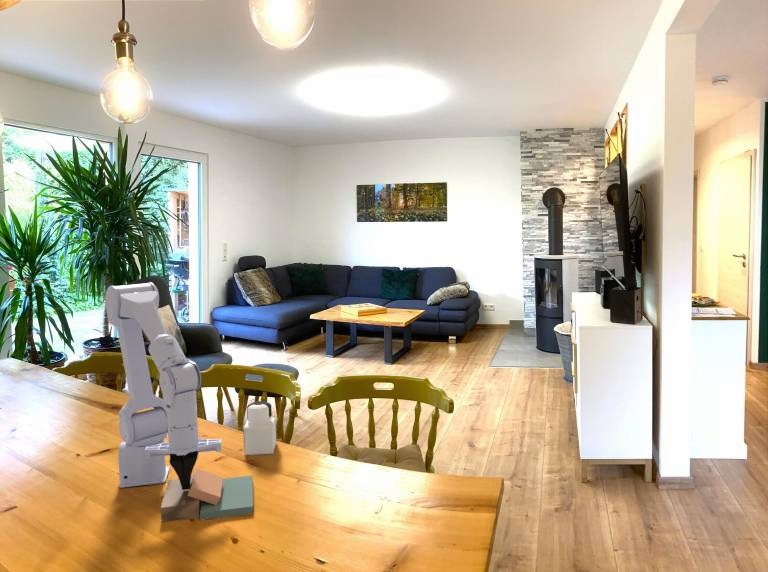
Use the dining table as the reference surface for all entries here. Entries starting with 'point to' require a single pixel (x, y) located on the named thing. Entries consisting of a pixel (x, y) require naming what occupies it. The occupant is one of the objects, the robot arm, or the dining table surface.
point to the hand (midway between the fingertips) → (186, 487)
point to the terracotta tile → (205, 486)
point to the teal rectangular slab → (231, 499)
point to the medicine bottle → (259, 429)
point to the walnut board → (179, 503)
